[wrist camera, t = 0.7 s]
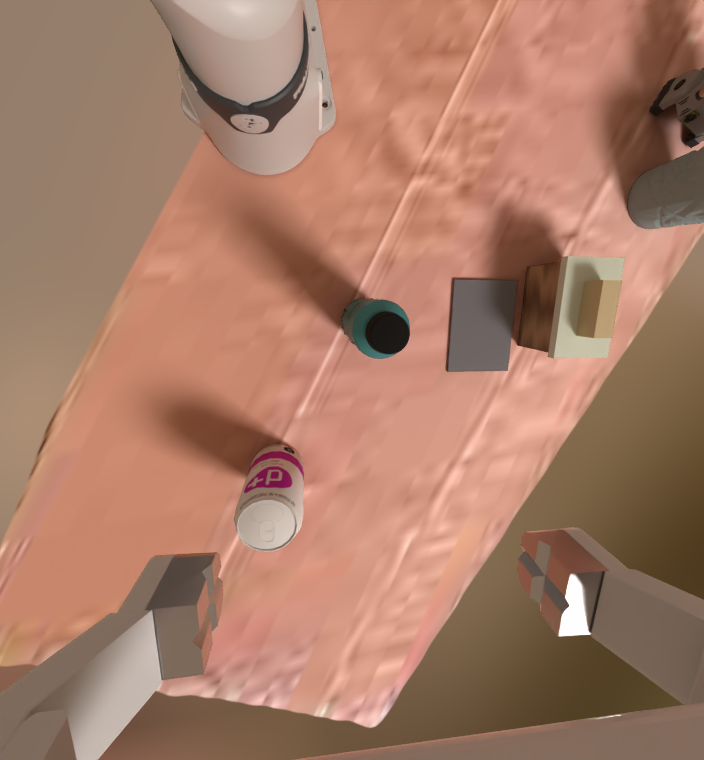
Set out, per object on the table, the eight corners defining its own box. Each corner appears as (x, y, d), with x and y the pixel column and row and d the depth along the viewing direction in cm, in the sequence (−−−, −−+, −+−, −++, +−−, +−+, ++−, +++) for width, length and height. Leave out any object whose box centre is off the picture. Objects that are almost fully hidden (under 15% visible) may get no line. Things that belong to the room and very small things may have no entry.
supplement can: (251, 442, 54) (230, 496, 39) (304, 442, 55) (303, 494, 40) (252, 489, 56) (232, 557, 41) (303, 488, 57) (302, 554, 42)
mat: (453, 279, 52) (454, 279, 51) (516, 280, 53) (517, 280, 52) (447, 371, 55) (448, 371, 55) (506, 370, 56) (507, 370, 56)
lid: (561, 257, 45) (586, 253, 41) (617, 258, 46) (647, 254, 42) (547, 356, 48) (570, 362, 44) (600, 355, 49) (626, 361, 45)
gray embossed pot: (639, 154, 51) (737, 111, 39) (694, 174, 52) (804, 139, 41) (613, 226, 53) (699, 205, 41) (667, 243, 55) (764, 228, 43)
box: (526, 266, 53) (564, 261, 45) (569, 267, 53) (613, 262, 46) (517, 345, 55) (551, 353, 48) (558, 345, 56) (597, 352, 48)
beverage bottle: (390, 311, 52) (438, 319, 32) (368, 350, 53) (402, 380, 33) (352, 289, 50) (379, 283, 31) (330, 329, 51) (343, 348, 32)
